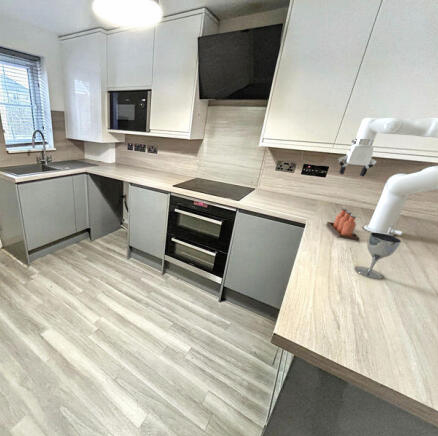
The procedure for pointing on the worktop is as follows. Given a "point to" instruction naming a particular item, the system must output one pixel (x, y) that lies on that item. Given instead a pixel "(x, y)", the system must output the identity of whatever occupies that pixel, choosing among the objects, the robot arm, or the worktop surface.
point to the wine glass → (379, 251)
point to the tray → (330, 224)
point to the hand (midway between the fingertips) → (351, 174)
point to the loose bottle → (349, 226)
